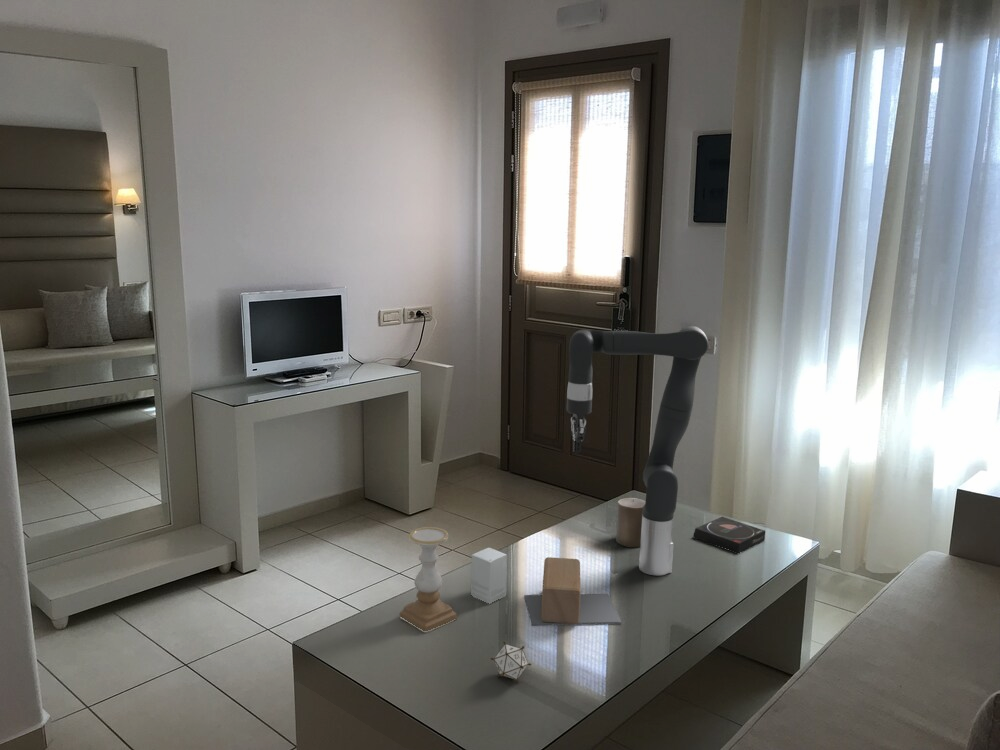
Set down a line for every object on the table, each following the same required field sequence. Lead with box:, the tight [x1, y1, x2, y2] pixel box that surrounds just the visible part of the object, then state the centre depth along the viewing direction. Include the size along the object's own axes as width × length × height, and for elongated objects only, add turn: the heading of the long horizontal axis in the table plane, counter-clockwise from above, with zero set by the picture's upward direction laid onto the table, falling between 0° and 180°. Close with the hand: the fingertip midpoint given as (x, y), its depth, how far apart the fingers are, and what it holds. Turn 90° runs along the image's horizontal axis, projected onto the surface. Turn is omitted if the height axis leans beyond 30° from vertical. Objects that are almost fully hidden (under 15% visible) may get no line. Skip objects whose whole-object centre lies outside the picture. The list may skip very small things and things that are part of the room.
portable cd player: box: [692, 516, 766, 554], centre depth 269 cm, size 16×17×4 cm
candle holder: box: [399, 526, 457, 631], centre depth 210 cm, size 11×11×24 cm
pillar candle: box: [615, 497, 646, 548], centre depth 264 cm, size 10×10×15 cm
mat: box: [523, 592, 623, 627], centre depth 219 cm, size 24×16×1 cm, turn 95°
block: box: [541, 556, 582, 624], centre depth 219 cm, size 10×10×20 cm
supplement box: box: [470, 547, 508, 605], centre depth 224 cm, size 7×7×13 cm
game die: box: [490, 640, 532, 684], centre depth 186 cm, size 9×8×10 cm
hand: (577, 452), depth 243 cm, fingers closed
